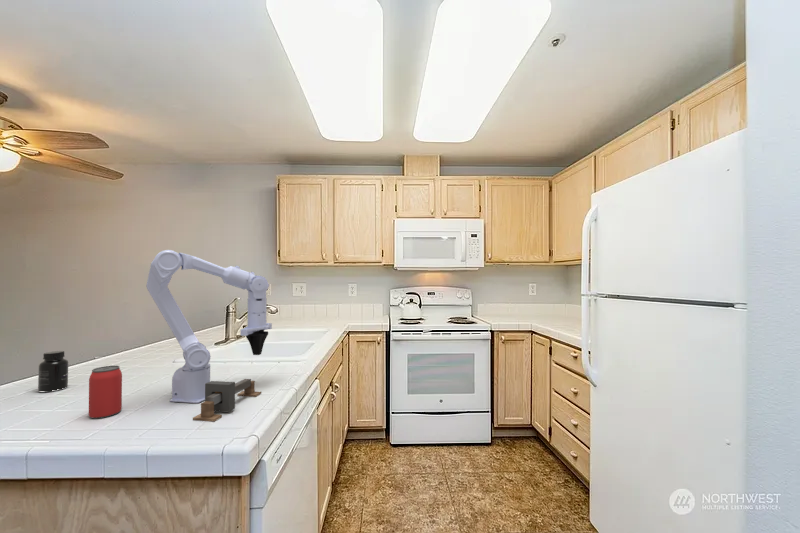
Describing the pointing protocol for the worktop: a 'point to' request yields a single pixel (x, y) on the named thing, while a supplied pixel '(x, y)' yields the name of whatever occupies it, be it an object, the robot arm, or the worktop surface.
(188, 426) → the worktop surface
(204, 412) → the square bar stand
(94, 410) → the beer can
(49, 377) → the supplement bottle
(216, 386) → the collar
